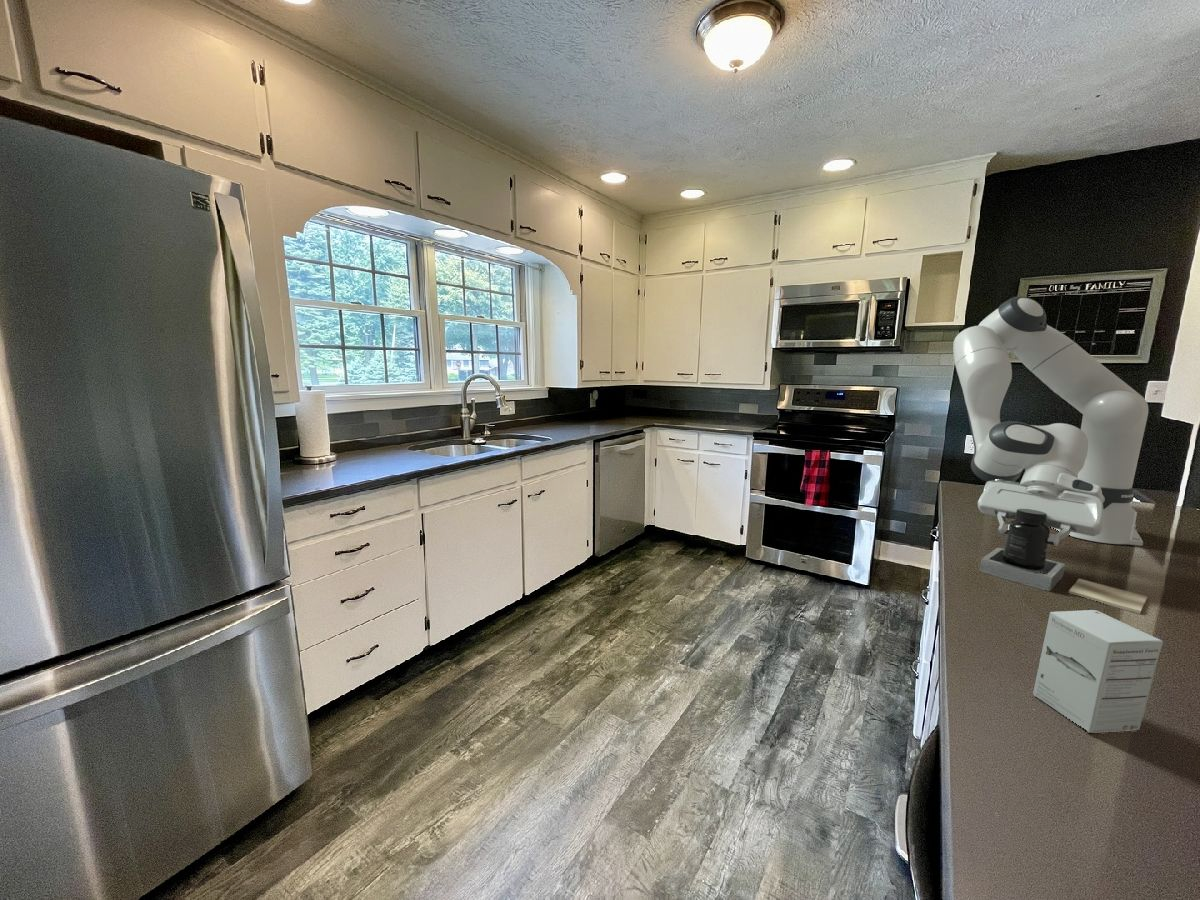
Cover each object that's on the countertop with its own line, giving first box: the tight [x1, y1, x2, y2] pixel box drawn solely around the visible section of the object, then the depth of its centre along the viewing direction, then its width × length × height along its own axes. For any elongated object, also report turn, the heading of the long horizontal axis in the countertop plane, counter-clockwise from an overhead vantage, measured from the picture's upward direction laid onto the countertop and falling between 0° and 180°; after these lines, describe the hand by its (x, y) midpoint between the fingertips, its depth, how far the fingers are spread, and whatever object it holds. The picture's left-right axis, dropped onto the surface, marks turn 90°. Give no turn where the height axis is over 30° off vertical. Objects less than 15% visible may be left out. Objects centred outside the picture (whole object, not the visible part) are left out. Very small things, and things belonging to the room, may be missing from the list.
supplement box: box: [1032, 609, 1164, 732], centre depth 61 cm, size 7×7×13 cm
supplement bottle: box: [1003, 509, 1051, 571], centre depth 102 cm, size 7×7×12 cm
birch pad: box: [1067, 578, 1148, 615], centre depth 94 cm, size 10×10×1 cm
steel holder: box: [979, 546, 1066, 592], centre depth 104 cm, size 12×12×3 cm
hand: (1026, 537), depth 102 cm, fingers closed on supplement bottle, 7 cm apart
